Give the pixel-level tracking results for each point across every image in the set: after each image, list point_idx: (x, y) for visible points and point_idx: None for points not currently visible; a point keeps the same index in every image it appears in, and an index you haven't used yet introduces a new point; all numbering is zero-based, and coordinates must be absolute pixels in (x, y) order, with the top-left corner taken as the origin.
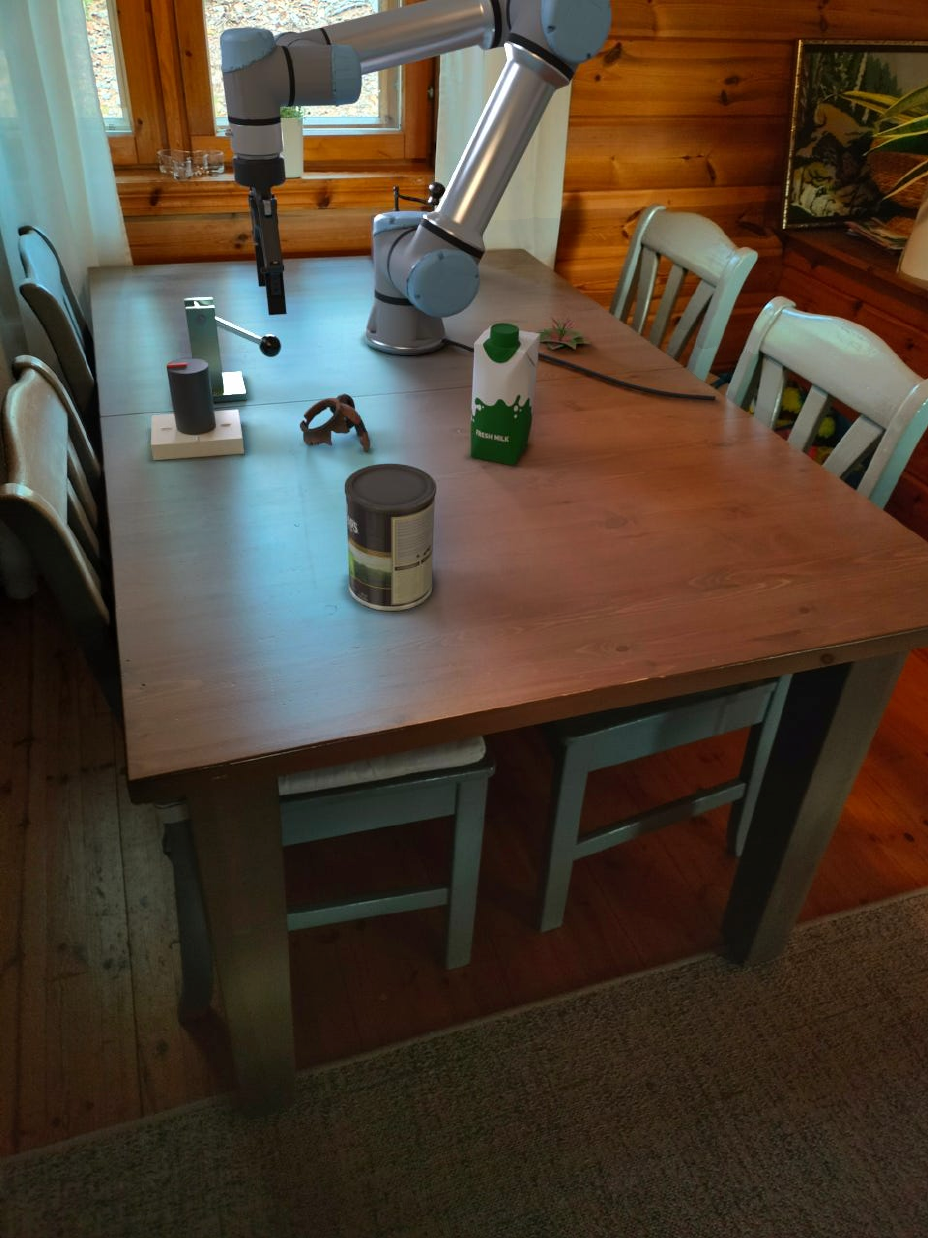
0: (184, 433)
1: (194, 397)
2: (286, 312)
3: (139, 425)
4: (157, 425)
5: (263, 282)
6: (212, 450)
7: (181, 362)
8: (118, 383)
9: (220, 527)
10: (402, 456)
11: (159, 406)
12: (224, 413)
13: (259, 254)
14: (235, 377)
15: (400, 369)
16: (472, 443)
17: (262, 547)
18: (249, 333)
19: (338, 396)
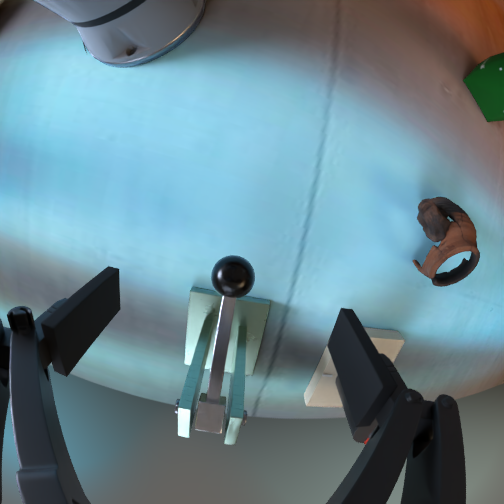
0: None
1: None
2: (353, 311)
3: (286, 402)
4: (331, 403)
5: (115, 303)
6: None
7: (365, 433)
8: (174, 398)
9: (464, 356)
10: (471, 180)
11: (247, 384)
12: None
13: (77, 350)
14: (209, 303)
15: (245, 45)
16: (497, 120)
17: (491, 334)
18: (226, 324)
19: (435, 225)
